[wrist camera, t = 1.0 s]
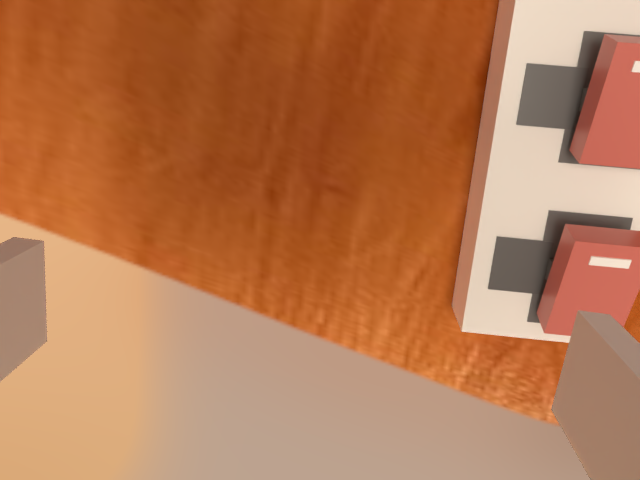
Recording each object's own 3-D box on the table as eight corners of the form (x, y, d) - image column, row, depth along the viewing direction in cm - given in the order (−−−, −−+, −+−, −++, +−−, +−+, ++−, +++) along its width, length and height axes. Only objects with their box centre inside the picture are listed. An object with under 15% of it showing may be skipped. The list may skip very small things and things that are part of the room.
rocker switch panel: (527, -179, 31) (555, -223, 26) (699, -168, 30) (758, -211, 26) (451, 306, 38) (463, 336, 34) (587, 320, 38) (618, 352, 33)
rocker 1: (604, 33, 28) (618, 42, 26) (689, 40, 27) (708, 49, 26) (569, 150, 31) (579, 164, 29) (645, 156, 31) (660, 171, 29)
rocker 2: (565, 223, 30) (575, 242, 29) (642, 231, 30) (657, 250, 28) (536, 313, 33) (544, 334, 32) (606, 320, 33) (617, 342, 32)
